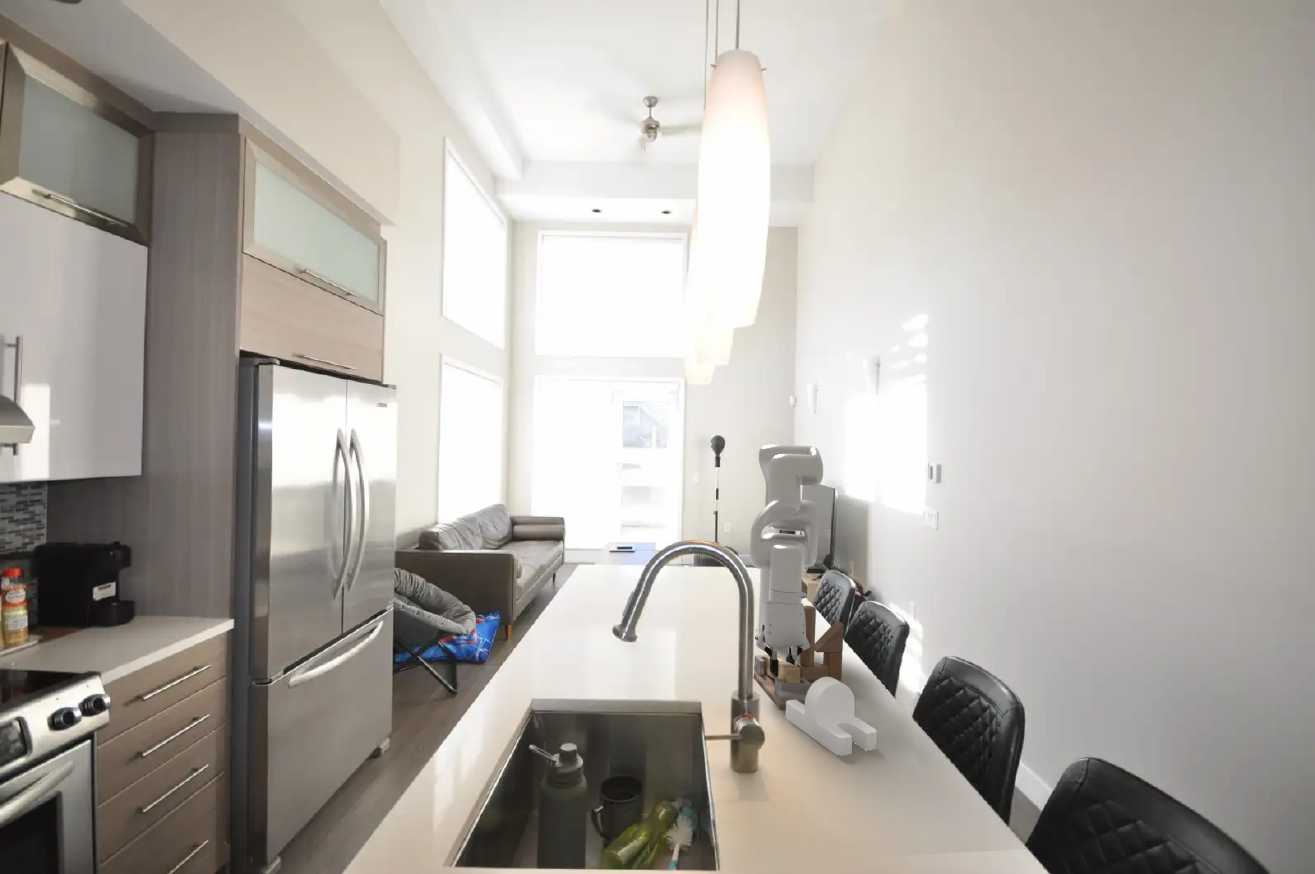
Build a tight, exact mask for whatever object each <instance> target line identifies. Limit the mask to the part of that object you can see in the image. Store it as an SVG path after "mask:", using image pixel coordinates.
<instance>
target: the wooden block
mask: <svg viewBox="0 0 1315 874" xmlns="http://www.w3.org/2000/svg"><path fill="white" fill-rule="evenodd" d="M803 606H804V612H805V622H806V638H807V640H808V642H809V644H810V647H809V648H808V649H806V650H804V651H802V652H801V654H800V655H799V658H798V659H799V662H797V663H796V666H797V667H799V668H800V678H805V679H806V680H807V681H808V682H815V681H816V680H818V679H820V678H822V677H831V678H834V679H836V680H838V681H839V680H840V681H842V676H843V675H842V673H843V671H842V670H843V651H844V649H843V648H844V624H843V623H842V622H841V621H840V620H836V621H835V622H834V623H833V624H831V626H830V627H829V628H828V629H826V631H825V632H824V633H823V634H822V636H820V637H819V639H818V640H817V641H816V624H817V623H816V620H817V608H816V607H815V606H812V605H803ZM815 652H816V653H823V656H822V657H823V659H822V662H817V661H815ZM840 681H839V682H840Z"/></svg>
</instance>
